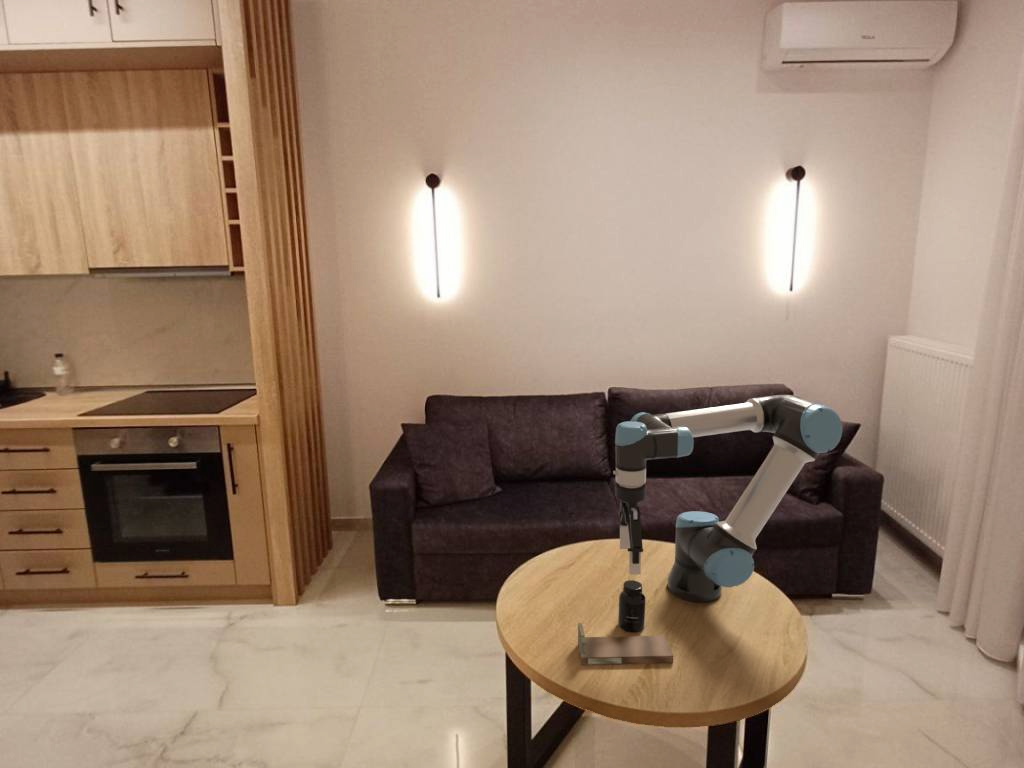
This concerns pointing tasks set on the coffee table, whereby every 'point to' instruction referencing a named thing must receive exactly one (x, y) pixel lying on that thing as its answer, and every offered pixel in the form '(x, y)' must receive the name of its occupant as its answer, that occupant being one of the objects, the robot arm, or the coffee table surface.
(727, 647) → the coffee table surface
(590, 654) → the rail flange
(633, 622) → the supplement bottle
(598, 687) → the coffee table surface
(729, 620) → the coffee table surface
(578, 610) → the coffee table surface
